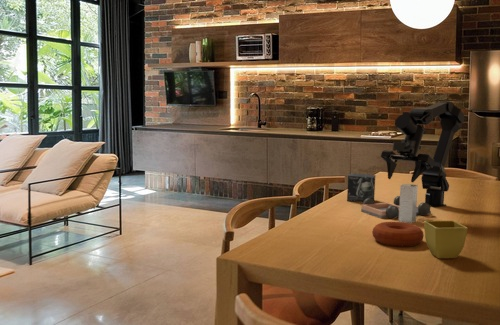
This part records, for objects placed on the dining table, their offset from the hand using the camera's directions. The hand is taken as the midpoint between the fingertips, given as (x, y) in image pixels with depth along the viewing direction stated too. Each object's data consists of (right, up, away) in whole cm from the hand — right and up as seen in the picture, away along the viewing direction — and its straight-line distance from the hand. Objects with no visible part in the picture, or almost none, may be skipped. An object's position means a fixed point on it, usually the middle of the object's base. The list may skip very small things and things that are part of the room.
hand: (400, 180), depth 204 cm
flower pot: (-1, -19, -48) cm, 52 cm away
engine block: (0, -14, -8) cm, 16 cm away
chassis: (0, -12, +6) cm, 13 cm away
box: (-9, -9, +27) cm, 30 cm away
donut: (-10, -17, -34) cm, 39 cm away
